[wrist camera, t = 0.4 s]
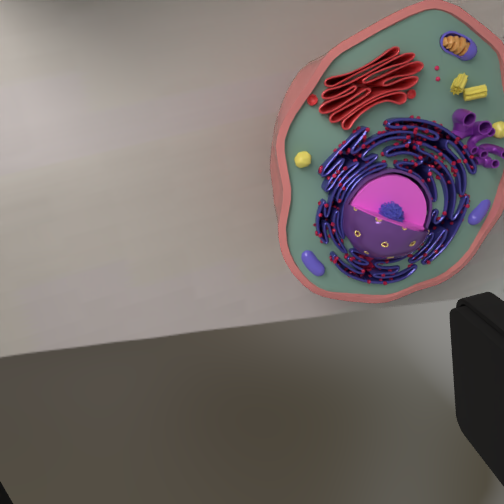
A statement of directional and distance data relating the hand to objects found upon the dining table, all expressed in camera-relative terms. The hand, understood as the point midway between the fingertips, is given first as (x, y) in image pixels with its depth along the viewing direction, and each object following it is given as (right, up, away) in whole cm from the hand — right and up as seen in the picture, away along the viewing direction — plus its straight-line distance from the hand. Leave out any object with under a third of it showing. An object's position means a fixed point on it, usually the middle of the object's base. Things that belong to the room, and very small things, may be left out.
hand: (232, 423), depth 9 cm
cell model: (+9, +12, +29) cm, 33 cm away
